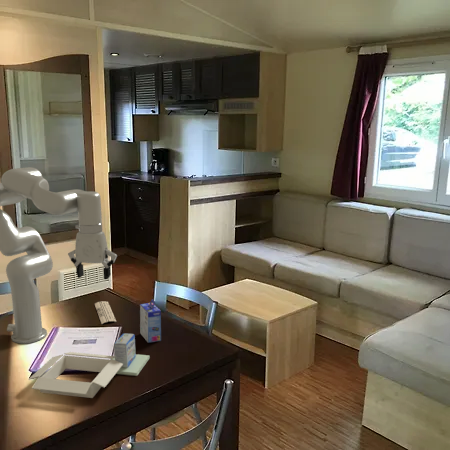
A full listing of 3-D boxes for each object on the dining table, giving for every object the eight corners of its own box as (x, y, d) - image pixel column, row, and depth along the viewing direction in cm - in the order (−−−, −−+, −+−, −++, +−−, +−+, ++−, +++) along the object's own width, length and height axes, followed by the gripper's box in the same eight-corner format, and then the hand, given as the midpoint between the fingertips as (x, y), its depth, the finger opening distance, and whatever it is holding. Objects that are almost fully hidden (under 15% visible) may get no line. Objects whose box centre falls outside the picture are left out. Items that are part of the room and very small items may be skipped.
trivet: (102, 372, 156) (102, 369, 156) (117, 355, 167) (116, 352, 167) (137, 375, 154) (137, 372, 154) (149, 358, 165) (149, 355, 165)
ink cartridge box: (162, 340, 178) (161, 304, 175) (148, 343, 176) (146, 307, 173) (153, 330, 187) (152, 296, 184) (140, 333, 185) (138, 298, 182)
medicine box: (127, 368, 156) (126, 344, 154) (114, 367, 157) (113, 343, 155) (136, 357, 164) (134, 333, 162) (123, 356, 165) (122, 332, 163)
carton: (20, 398, 141) (19, 382, 140) (60, 361, 163) (59, 347, 162) (99, 407, 137) (98, 390, 136) (128, 367, 159) (128, 353, 158)
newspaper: (116, 324, 195) (116, 320, 195) (99, 326, 192) (98, 322, 192) (108, 304, 216) (108, 300, 216) (92, 306, 214) (91, 302, 213)
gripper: (61, 230, 157) (64, 279, 161) (110, 232, 154) (113, 282, 158) (72, 225, 164) (75, 272, 168) (119, 227, 161) (121, 275, 165)
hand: (93, 277), depth 163 cm, fingers open, 9 cm apart
